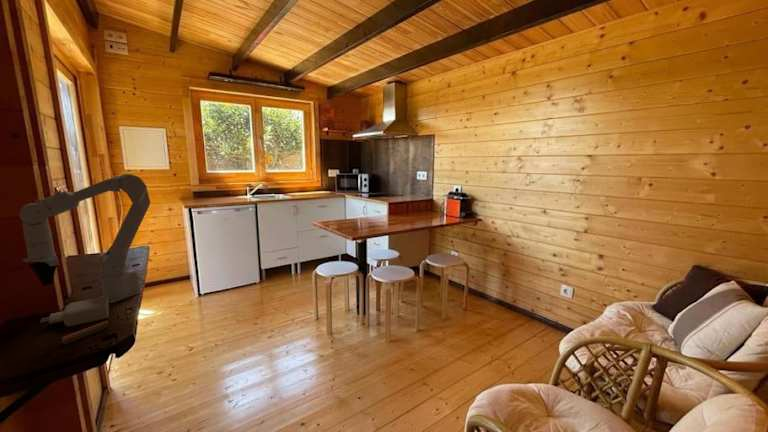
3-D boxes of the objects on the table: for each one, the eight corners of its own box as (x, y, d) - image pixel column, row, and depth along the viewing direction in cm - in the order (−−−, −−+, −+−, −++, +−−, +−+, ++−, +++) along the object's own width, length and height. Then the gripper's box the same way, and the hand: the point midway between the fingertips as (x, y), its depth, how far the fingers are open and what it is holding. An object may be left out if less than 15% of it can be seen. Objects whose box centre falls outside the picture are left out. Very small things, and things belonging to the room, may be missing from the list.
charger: (45, 321, 97) (109, 308, 106) (38, 335, 90) (108, 319, 99) (42, 307, 96) (107, 294, 105) (35, 319, 89) (106, 305, 98)
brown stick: (107, 326, 95) (106, 320, 94) (109, 326, 94) (108, 321, 94) (62, 343, 86) (61, 337, 85) (65, 344, 85) (63, 338, 85)
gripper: (10, 242, 98) (18, 284, 100) (32, 248, 92) (41, 293, 94) (41, 237, 104) (49, 277, 106) (64, 242, 98) (71, 284, 101)
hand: (47, 284), depth 101 cm, fingers closed
